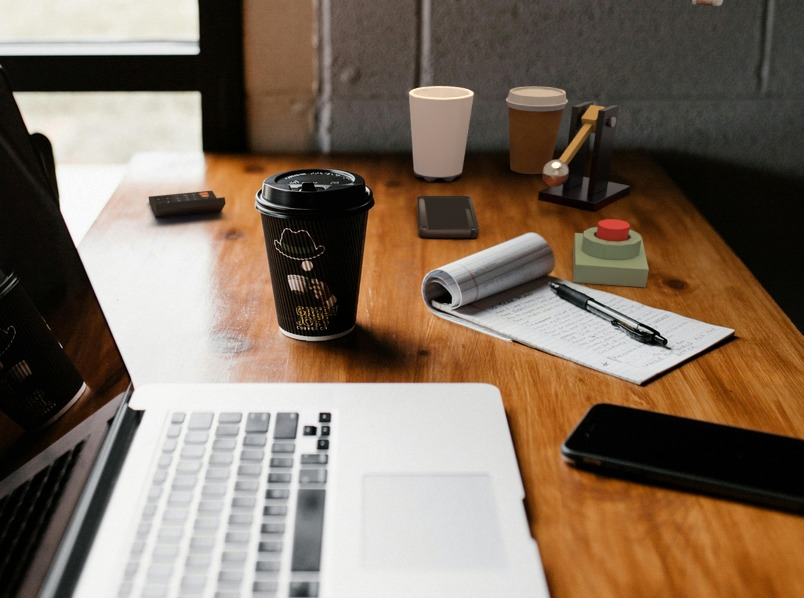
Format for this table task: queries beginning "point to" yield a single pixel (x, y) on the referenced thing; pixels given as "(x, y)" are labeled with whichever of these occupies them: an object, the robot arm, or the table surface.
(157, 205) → the calculator
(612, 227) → the button
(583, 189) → the switch bracket
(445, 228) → the phone
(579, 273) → the button block
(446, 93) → the cup
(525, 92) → the disposable coffee cup
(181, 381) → the table surface
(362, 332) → the table surface
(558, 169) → the switch lever
